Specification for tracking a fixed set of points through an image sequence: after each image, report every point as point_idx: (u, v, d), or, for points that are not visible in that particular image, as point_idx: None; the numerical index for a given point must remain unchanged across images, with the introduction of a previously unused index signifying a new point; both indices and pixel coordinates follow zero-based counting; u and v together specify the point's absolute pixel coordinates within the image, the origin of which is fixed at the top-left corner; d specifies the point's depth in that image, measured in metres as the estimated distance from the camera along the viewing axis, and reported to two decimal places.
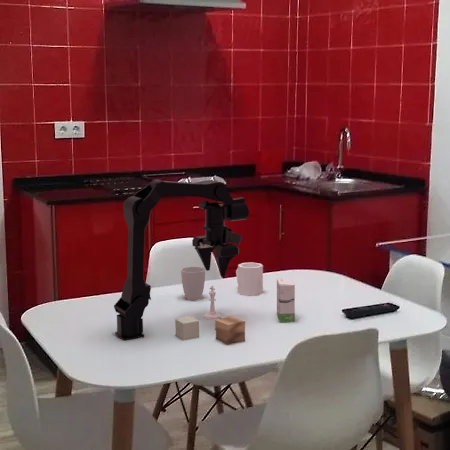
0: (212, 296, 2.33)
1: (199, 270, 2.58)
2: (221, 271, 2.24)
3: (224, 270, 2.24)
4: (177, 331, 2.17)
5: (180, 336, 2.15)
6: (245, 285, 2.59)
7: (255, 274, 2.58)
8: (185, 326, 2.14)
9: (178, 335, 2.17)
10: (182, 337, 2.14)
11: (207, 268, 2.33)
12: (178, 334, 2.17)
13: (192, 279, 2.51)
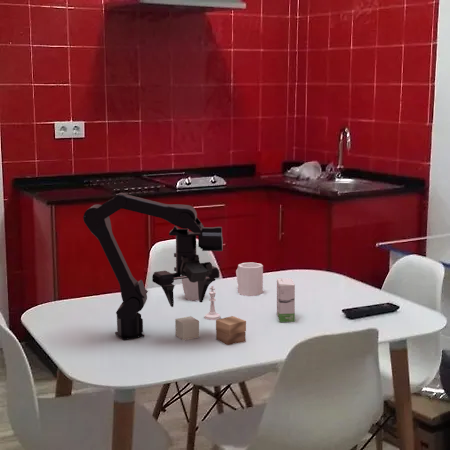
0: (212, 296, 2.33)
1: None
2: (168, 299, 2.13)
3: (169, 300, 2.12)
4: (177, 331, 2.17)
5: (180, 336, 2.15)
6: (245, 285, 2.59)
7: (255, 274, 2.58)
8: (185, 326, 2.14)
9: (178, 335, 2.17)
10: (182, 337, 2.14)
11: (199, 299, 2.18)
12: (178, 334, 2.17)
13: None
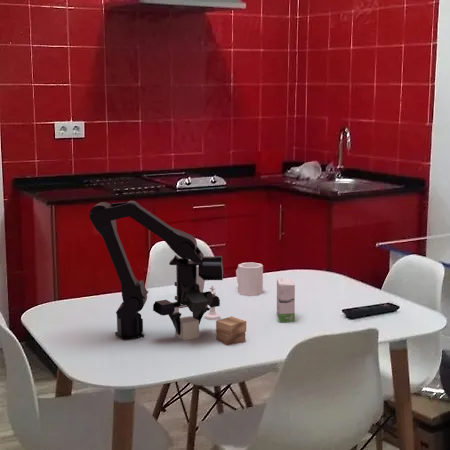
0: None
1: None
2: (175, 327, 2.16)
3: (176, 327, 2.15)
4: None
5: (180, 336, 2.15)
6: (245, 285, 2.59)
7: (255, 274, 2.58)
8: (185, 326, 2.14)
9: (178, 335, 2.16)
10: (182, 337, 2.14)
11: None
12: None
13: None
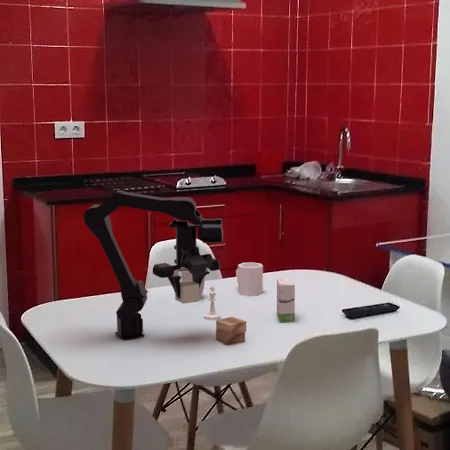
0: (212, 296, 2.33)
1: None
2: None
3: (176, 291, 2.13)
4: None
5: (180, 299, 2.13)
6: (245, 285, 2.59)
7: (255, 274, 2.58)
8: (185, 289, 2.12)
9: (178, 299, 2.15)
10: (182, 300, 2.12)
11: None
12: (177, 298, 2.15)
13: (192, 279, 2.51)
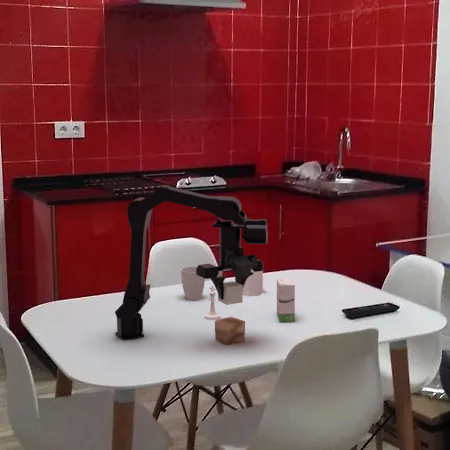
0: (212, 296, 2.33)
1: None
2: (218, 292, 2.11)
3: (219, 292, 2.10)
4: None
5: (223, 300, 2.10)
6: (245, 285, 2.59)
7: (255, 274, 2.58)
8: (228, 290, 2.08)
9: (221, 300, 2.11)
10: (225, 301, 2.09)
11: None
12: (220, 299, 2.11)
13: (192, 279, 2.51)
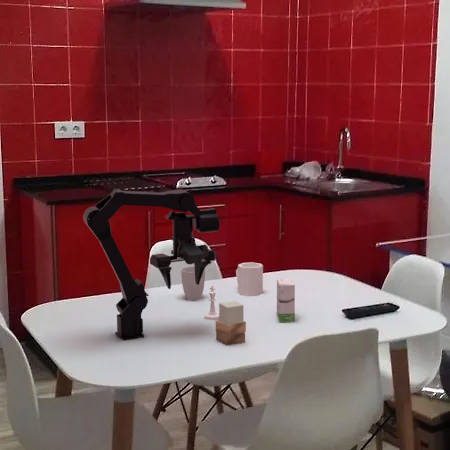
0: (212, 296, 2.33)
1: None
2: (165, 282, 2.19)
3: (166, 282, 2.18)
4: (221, 315, 2.12)
5: (224, 321, 2.11)
6: (245, 285, 2.59)
7: (255, 274, 2.58)
8: (229, 310, 2.09)
9: (222, 320, 2.12)
10: (226, 321, 2.09)
11: (196, 282, 2.23)
12: (222, 319, 2.12)
13: (192, 279, 2.51)
